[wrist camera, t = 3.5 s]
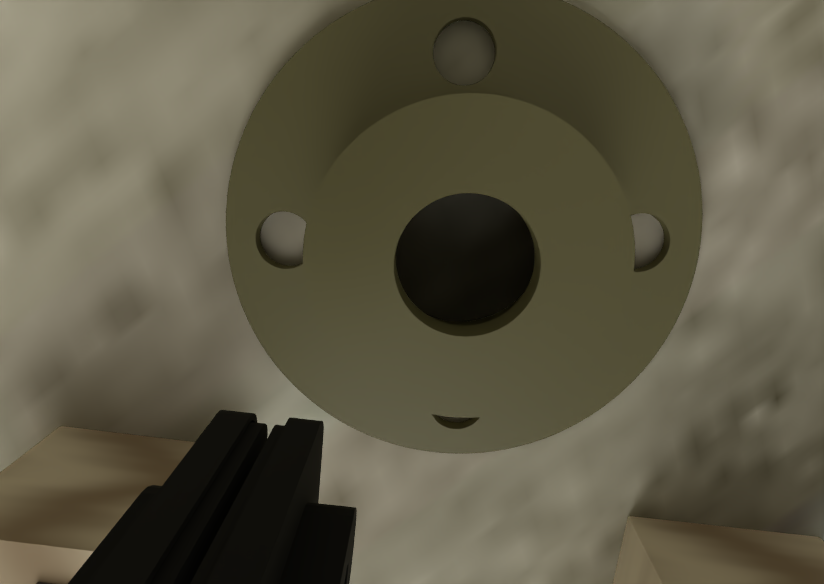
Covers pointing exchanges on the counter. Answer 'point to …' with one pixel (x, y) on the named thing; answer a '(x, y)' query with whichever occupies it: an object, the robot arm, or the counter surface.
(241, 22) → the counter surface
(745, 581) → the numeral block seven
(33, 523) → the numeral block one
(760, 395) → the counter surface
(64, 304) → the counter surface
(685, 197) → the flange
